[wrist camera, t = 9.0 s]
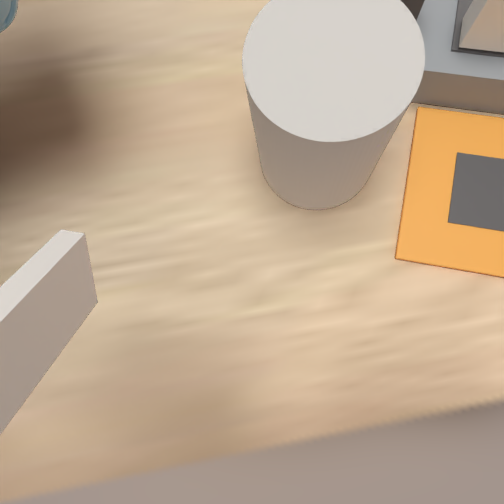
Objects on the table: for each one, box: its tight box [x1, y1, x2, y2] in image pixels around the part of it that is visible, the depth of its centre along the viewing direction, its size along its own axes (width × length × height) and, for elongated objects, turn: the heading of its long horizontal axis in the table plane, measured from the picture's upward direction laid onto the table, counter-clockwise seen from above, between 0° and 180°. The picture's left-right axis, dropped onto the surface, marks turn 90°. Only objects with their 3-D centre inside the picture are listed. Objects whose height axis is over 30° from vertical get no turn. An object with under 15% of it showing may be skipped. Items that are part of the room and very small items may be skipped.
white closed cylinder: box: [242, 0, 425, 210], centre depth 25 cm, size 8×8×12 cm
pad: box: [395, 107, 504, 278], centre depth 30 cm, size 11×11×1 cm
